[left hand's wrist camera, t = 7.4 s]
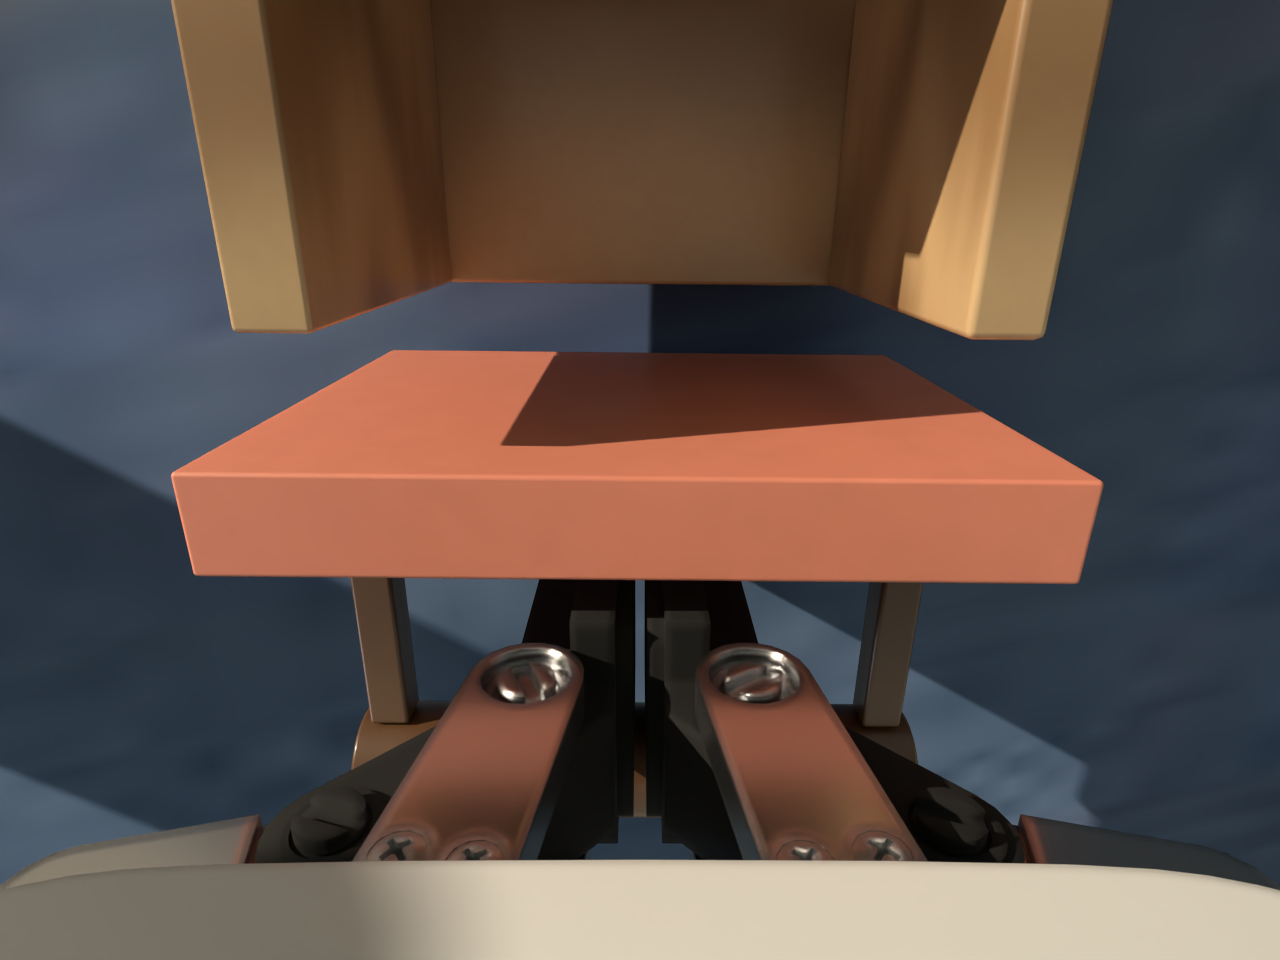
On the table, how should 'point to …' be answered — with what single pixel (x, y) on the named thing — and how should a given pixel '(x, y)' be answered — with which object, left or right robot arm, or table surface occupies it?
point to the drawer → (639, 254)
